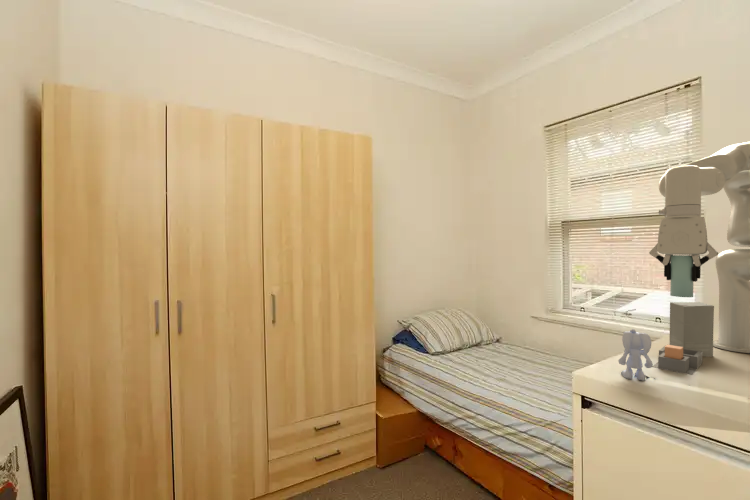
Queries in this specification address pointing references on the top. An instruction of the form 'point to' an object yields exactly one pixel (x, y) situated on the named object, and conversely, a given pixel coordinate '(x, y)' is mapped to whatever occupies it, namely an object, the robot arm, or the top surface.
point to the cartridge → (681, 276)
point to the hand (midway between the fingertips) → (681, 279)
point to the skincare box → (692, 326)
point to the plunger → (674, 352)
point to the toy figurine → (635, 353)
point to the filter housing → (680, 361)
